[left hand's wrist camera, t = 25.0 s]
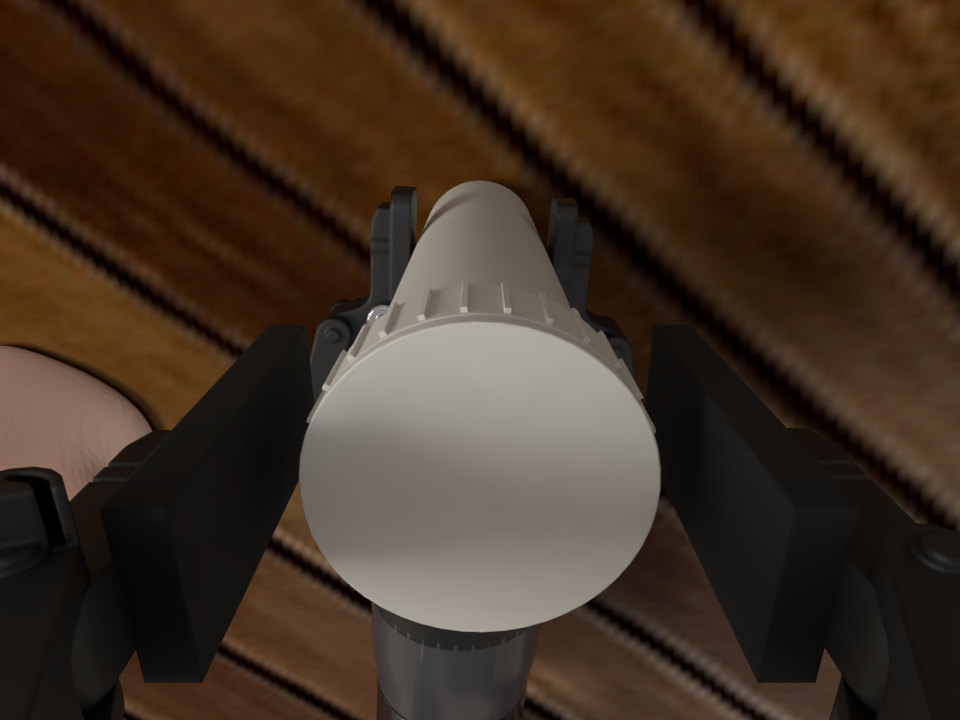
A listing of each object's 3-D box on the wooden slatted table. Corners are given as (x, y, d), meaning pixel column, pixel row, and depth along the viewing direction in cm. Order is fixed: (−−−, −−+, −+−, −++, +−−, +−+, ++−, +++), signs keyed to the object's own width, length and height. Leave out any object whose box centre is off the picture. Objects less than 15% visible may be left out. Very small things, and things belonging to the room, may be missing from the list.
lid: (264, 357, 11) (221, 409, 10) (569, 224, 11) (589, 251, 9) (409, 593, 13) (396, 676, 12) (676, 498, 13) (711, 570, 11)
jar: (419, 185, 28) (311, 340, 10) (530, 175, 28) (622, 313, 10) (432, 292, 30) (360, 586, 12) (536, 282, 30) (624, 567, 12)
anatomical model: (-141, 362, 27) (139, 411, 28) (-67, 331, 31) (178, 374, 32) (-100, 606, 32) (137, 641, 33) (-39, 553, 36) (172, 586, 36)
